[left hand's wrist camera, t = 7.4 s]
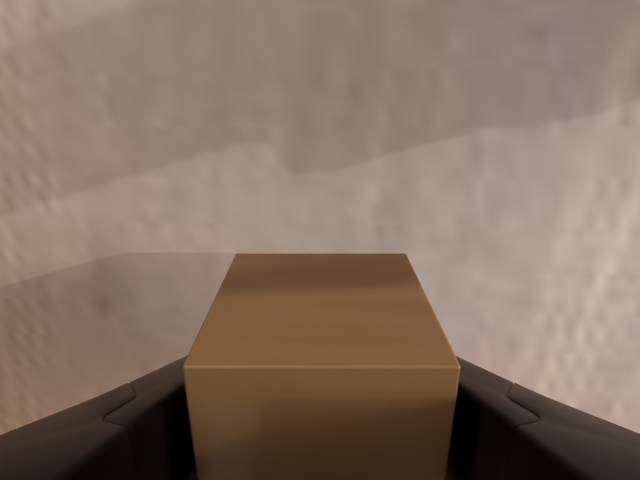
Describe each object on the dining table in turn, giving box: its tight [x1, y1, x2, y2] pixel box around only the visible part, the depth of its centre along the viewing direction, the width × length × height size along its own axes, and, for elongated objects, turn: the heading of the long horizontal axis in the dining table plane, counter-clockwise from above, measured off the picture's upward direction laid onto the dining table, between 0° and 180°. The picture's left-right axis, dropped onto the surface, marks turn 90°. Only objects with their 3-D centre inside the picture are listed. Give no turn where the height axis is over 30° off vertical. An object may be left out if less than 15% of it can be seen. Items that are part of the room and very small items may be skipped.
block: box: [182, 254, 460, 480], centre depth 10 cm, size 5×5×5 cm
